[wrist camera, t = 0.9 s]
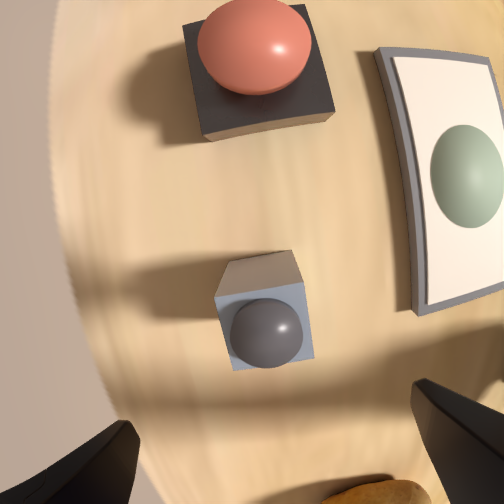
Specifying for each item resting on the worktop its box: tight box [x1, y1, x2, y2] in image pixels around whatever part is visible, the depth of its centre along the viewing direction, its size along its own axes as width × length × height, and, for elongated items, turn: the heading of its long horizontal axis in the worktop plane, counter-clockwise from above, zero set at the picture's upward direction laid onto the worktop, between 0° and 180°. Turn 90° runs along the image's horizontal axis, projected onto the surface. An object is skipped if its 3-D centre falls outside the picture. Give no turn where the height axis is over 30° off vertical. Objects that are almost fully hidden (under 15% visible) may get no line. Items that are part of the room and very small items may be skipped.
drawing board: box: [373, 47, 504, 317], centre depth 17 cm, size 10×18×2 cm, turn 11°
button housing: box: [182, 4, 336, 142], centre depth 15 cm, size 7×7×3 cm
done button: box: [197, 0, 311, 95], centre depth 13 cm, size 5×5×4 cm
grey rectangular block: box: [214, 250, 314, 371], centre depth 17 cm, size 4×4×7 cm
